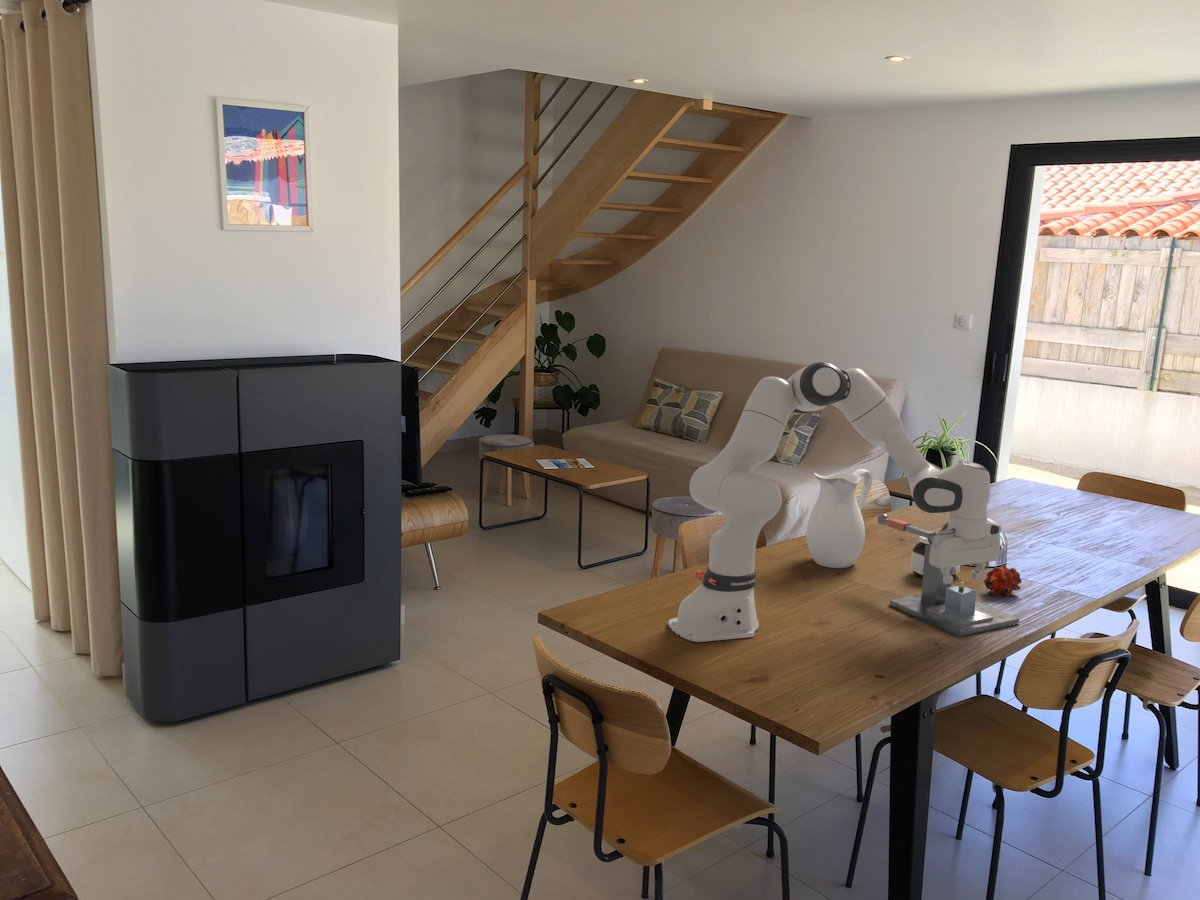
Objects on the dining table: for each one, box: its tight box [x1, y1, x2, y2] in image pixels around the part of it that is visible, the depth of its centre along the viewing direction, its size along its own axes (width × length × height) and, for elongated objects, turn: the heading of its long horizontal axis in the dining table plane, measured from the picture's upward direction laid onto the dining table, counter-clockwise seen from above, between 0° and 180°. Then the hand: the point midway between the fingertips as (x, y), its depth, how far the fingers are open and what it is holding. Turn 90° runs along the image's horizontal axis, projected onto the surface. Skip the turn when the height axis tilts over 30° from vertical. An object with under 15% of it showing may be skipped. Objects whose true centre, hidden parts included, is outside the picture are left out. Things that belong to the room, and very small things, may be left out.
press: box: [889, 544, 1020, 638], centre depth 242 cm, size 20×24×16 cm
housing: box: [944, 581, 977, 617], centre depth 238 cm, size 5×5×8 cm
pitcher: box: [806, 468, 873, 569], centre depth 285 cm, size 24×17×28 cm
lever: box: [877, 513, 939, 544], centre depth 255 cm, size 4×23×3 cm, turn 26°
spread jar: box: [910, 536, 961, 579], centre depth 274 cm, size 12×11×12 cm
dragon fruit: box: [983, 564, 1022, 597], centre depth 259 cm, size 8×8×12 cm
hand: (961, 580), depth 236 cm, fingers open, 8 cm apart
